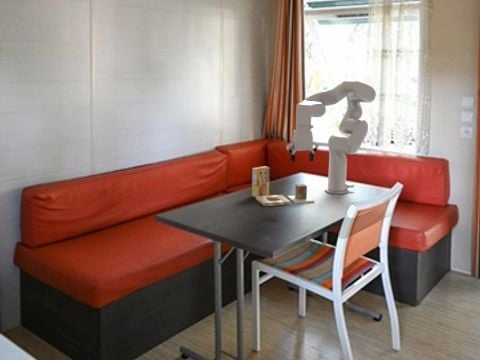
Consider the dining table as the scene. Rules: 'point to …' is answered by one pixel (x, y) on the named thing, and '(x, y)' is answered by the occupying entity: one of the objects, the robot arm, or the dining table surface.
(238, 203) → the dining table surface
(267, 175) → the candy box
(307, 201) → the board
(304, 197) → the walnut block
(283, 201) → the pocket plate
